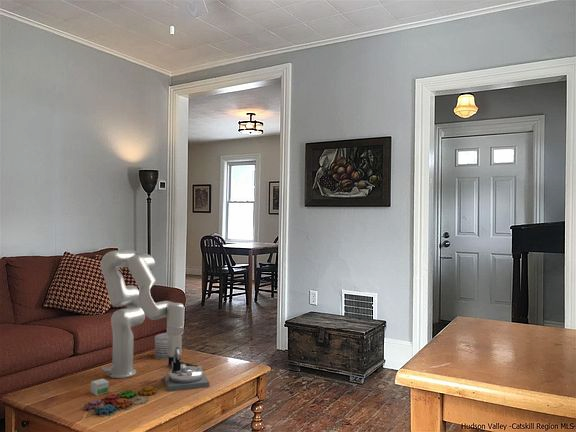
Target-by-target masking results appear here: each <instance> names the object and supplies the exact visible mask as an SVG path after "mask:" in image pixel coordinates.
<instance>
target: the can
mask: <svg viewBox="0 0 576 432" xmlns="http://www.w3.org/2000/svg"><path fill="white" fill-rule="evenodd" d="M167 338H168V335H167V332H166V333H165V332H164V333H159V334H157V335H155V336H154V358H155V359H157V360H169V357H170V356H169V355H168V354H167Z"/></svg>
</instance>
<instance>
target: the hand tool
mask: <svg viewBox="0 0 576 432" xmlns="http://www.w3.org/2000/svg"><path fill="white" fill-rule="evenodd" d="M181 364H186V366H195V367H198V366H199V365H197V364H192V363H188V362H185V361H181ZM169 366H170V367H171V368H172V365H169Z"/></svg>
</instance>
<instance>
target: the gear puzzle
mask: <svg viewBox="0 0 576 432" xmlns="http://www.w3.org/2000/svg"><path fill="white" fill-rule="evenodd" d="M157 392H159V390H158V389H157V387H154V386H151V385H149V386H148V385H147V386H143V388H140V390H138V393H137V391H135V390H132V389H126V390H124V391H121V392H120V391H119V393H117V394H115V393H114V394H108V395H106V396H104V398H101V399H91V400H90V401H88V402H87V403H85V404H84V406H82V407H81V409H82V410H85V411H86V410H87V411H88V412H89V413H92V414H93V415H97V414H98V417H100V418H106V417H108V416H109V417H112V416H115V415H116V412H117V413H119V412H122V411H125V410H126V411H130V410H131V409H132V408H134V407H135V406H139V405H145V404H147V403H148V402H150V399H149V397H148V396H152V395H154V394H157ZM138 394H139V395H138ZM133 406H134V407H133ZM105 416H106V417H105Z"/></svg>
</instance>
